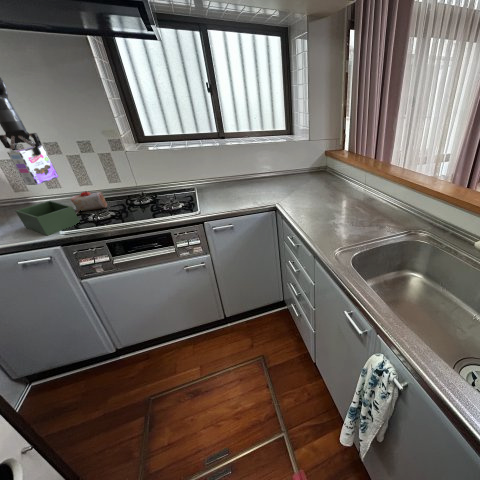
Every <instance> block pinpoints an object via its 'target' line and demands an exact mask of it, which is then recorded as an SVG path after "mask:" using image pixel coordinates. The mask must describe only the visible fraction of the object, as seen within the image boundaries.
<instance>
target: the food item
mask: <svg viewBox="0 0 480 480" xmlns="http://www.w3.org/2000/svg"><path fill="white" fill-rule="evenodd" d="M70 201H71V202H72V204H73V205H74V207H75V209H76V211H77V212H78V213H80V212H79V211H80V210H82V211H84V212H89V211H94V210H95V211H96V210H102V208H103V209H106V208H107V207H108V203H107V201H106V199H105V197H104V194H103V192H102V191H97V192H90V191H88V190H85V191H83V192H81V193H80V194H78V195H73V196H71V198H70Z"/></svg>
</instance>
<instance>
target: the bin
mask: <svg viewBox="0 0 480 480" xmlns="http://www.w3.org/2000/svg"><path fill="white" fill-rule="evenodd" d="M14 212H15V214H16V215H17V216H18V218H19V219H20V221H21V222H22V224H23V226H24V227H25V228H26V229H27V230H31V231H33V232H36V233H39V234H42V235H44V236H47V237H48V236H52V235H54V234H56V233H58V232H61V230H62V231H64V230H67V229H69V227H70V228H72V226H73V227H75V226H77V225H76V224H77V223H79V222H80V223H81V220H80V219H79V217H78V215H77V213H76V212H75V209H74V208H73V206H72V205H67V204H65V203H60V202H57V201H53V200H47V201H44V202H41V203H36V204H33V205H30V206H26V207H24V208H19V209H16V210H15V211H14ZM74 225H75V226H74ZM66 228H67V229H66ZM63 229H64V230H63Z"/></svg>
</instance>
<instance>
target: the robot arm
mask: <svg viewBox="0 0 480 480" xmlns="http://www.w3.org/2000/svg"><path fill="white" fill-rule="evenodd" d="M0 127H1V128H2V130H3V132H4V133H5V134H0V142H1V144H2V145H3V146H4V148H5V149H10V150H11V151H14V150H19V148H17V147H18V145H19V144H20V143H21V144H22V143H23V144H24V143H26V144H27V145H29V147H33V149H34V151H35V153H36V155H37V156H39V155H40V154H41V152H40V150H39V148H38V147H39V146H43V144H42V142H41V139H40V137H39V135H38V133H36V132H31V133H29V132H28V131H27V128H26V126H25V125H24V123H23V120H22V119H21V117H20V116H19V114H18V112H17V110H16V109H15V107H14V106H13V104H12V101H11V100H10V98H9V94H8V89H7V87H6V83H5V81H4V79H3V78H2V76H0ZM30 137H31V138H32V139H33V140H32V139H31V138H30ZM8 139H9V140H10V142H9V140H8Z"/></svg>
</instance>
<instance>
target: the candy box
mask: <svg viewBox="0 0 480 480" xmlns="http://www.w3.org/2000/svg"><path fill="white" fill-rule="evenodd" d="M38 148H39V150H40V152H41V154H40V155H39V156H37V155H36V153H35V151H34V149H33V147H32V146H28V147H23V148H18V150H14V151H13V150H10V151H6V153H7V155H8V157H9V158H10V160H11V162H12V163H13V165H14V167H15V169H16V170H17V172H18V174H19V175H20V177H21V179H22V181H23V182H24V184H25V186H37V185H40V184H43V183H46V182H49V181H51V180H54V179H57V178H59V175H58V173H57V170H56V169H55V167H54V165H53V163H52V161H51V160H50V157H49V155H48V154H47V151H46V150H45V148H44V146H43V145H41V146H39V147H38Z"/></svg>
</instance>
